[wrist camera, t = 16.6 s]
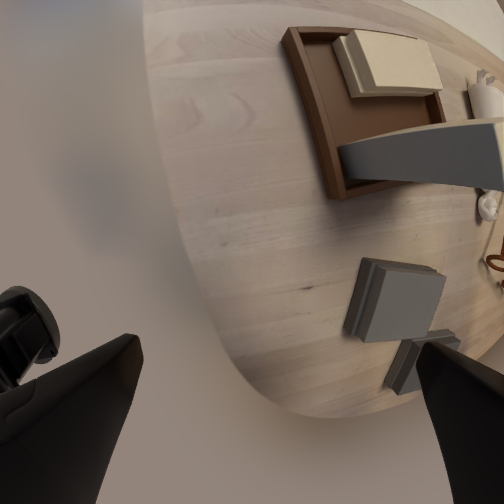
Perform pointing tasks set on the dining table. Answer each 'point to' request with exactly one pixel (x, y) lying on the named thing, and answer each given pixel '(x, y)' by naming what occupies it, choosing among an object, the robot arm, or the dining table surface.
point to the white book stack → (386, 65)
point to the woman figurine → (486, 106)
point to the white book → (433, 154)
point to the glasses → (498, 257)
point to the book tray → (347, 108)
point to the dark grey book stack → (414, 360)
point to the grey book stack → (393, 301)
